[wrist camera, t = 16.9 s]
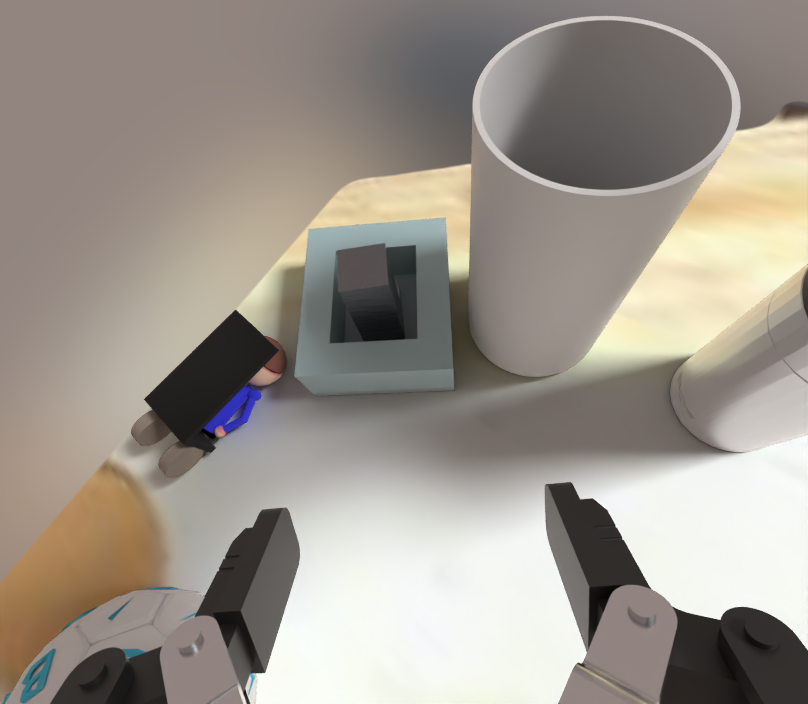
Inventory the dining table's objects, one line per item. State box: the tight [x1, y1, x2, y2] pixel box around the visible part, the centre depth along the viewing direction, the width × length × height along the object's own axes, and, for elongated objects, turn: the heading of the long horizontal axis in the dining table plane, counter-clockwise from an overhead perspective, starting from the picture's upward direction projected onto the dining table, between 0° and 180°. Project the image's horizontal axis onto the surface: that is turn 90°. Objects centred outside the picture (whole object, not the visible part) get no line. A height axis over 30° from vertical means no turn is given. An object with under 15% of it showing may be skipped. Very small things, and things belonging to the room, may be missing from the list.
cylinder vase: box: [468, 16, 740, 377], centre depth 33 cm, size 12×12×25 cm
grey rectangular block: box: [337, 243, 405, 342], centre depth 41 cm, size 6×4×11 cm, turn 5°
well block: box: [294, 218, 454, 396], centre depth 44 cm, size 14×16×6 cm
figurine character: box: [131, 310, 286, 478], centre depth 42 cm, size 7×8×15 cm
